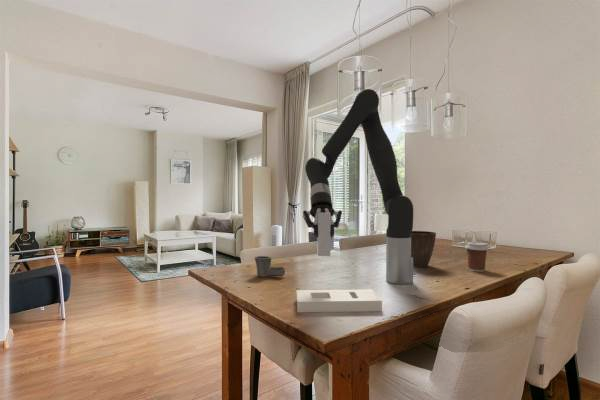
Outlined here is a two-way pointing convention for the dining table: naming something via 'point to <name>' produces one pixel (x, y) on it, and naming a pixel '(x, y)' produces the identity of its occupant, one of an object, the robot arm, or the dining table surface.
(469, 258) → the coffee cup
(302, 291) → the socket plank
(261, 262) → the pipe
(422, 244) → the plant pot
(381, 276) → the dining table surface
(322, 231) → the gray square peg
